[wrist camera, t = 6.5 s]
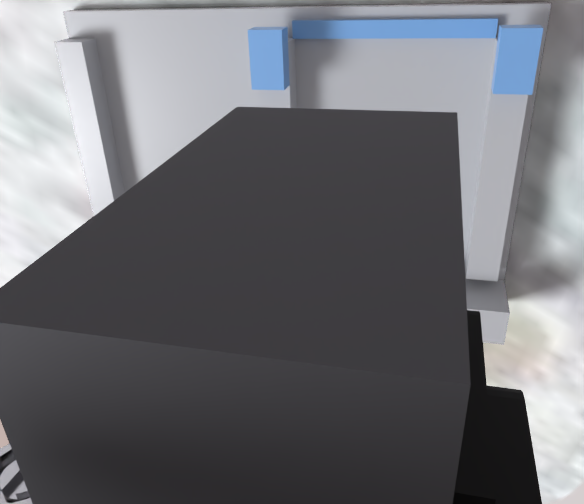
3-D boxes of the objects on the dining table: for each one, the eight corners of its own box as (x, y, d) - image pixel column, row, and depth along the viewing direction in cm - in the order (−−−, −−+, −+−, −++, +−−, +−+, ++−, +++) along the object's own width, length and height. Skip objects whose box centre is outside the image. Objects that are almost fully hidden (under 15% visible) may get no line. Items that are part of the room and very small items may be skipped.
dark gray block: (236, 106, 11) (-38, 316, 5) (457, 112, 10) (471, 384, 4) (264, 447, 15) (140, 786, 9) (418, 473, 14) (396, 871, 8)
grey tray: (71, 10, 23) (24, 18, 20) (548, 2, 19) (564, 11, 16) (124, 266, 28) (93, 298, 26) (498, 302, 24) (503, 344, 22)
